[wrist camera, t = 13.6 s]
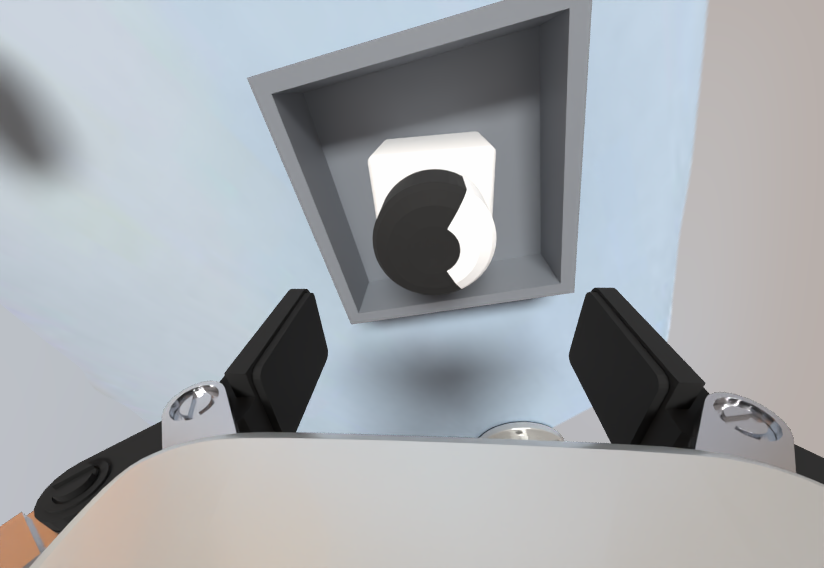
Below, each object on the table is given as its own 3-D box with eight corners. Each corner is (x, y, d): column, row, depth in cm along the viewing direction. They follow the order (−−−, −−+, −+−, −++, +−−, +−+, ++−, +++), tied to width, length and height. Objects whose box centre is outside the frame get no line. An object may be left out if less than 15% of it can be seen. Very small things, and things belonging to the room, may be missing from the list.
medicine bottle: (394, 228, 27) (371, 314, 17) (383, 138, 23) (344, 179, 13) (477, 223, 26) (505, 309, 16) (480, 130, 22) (519, 165, 12)
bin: (549, 256, 28) (574, 292, 23) (364, 286, 31) (351, 324, 26) (551, 3, 19) (593, -27, 14) (289, 80, 22) (246, 77, 17)
